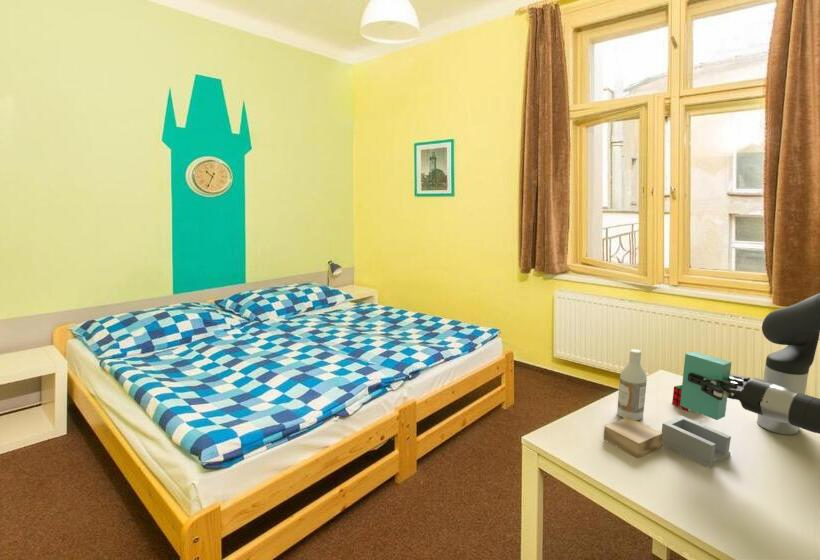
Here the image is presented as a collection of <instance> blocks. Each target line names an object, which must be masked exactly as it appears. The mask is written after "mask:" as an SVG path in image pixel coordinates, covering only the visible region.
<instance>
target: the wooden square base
mask: <svg viewBox="0 0 820 560" xmlns="http://www.w3.org/2000/svg"><path fill="white" fill-rule="evenodd" d="M603 430H604V432H603V440H604V441H605V440H606V441H605V442H607V441H608V442H607V443H608V444H610V445H612V444H613V446H614V445H615V446H614V447H616V446H617V447H616V448H618V449H620V450H622V451H623V452H625V453H626V454H629V455H631V456H632V457H635V458H637V459H639V458H641V457H642V456H645V455H647V454H650V453H652V452H653V451H656V450H658V449H660V448H662V445H661V441H662V431H661V432H660V431H659V430H656V429H655V428H651V427H650V426H648V425H646V424H644V423H642V422H641V421H640V422H639V421H638V420H633V419H631V418H629V417H626V418H622V419H619V420H616V421H614V422H611V423H609V424H606V425H604V429H603Z"/></svg>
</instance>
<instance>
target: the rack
mask: <svg viewBox="0 0 820 560" xmlns="http://www.w3.org/2000/svg"><path fill="white" fill-rule="evenodd" d="M661 425H662V426H661V433H662V441H661V446H664V447H665V448H667V449H669V450H670V451H673V452H675V453H677V454H680V455H681V456H684V457H685V458H687V459H690V460H691V461H693V462H695V463H697V464H699V465H701V466H703V467H705V468H707V469H708V468H709V467H711V466H713V465H715V464H717V463H718V462H721V461H722V460H725V459H726V458H728V457H730V456H731V451H730V445H731V438H732V437H731V435H728V434H726V433H724V432H721V431H719V430H716V429H714V428H712V427H710V426H707V425H705V424H703V423H701V422H698V421H697V420H694V419H691V418H688V417H686V416H683V415H678V416H677V417H675V418H671V419H670V420H667V421H665V422H662V424H661Z"/></svg>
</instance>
